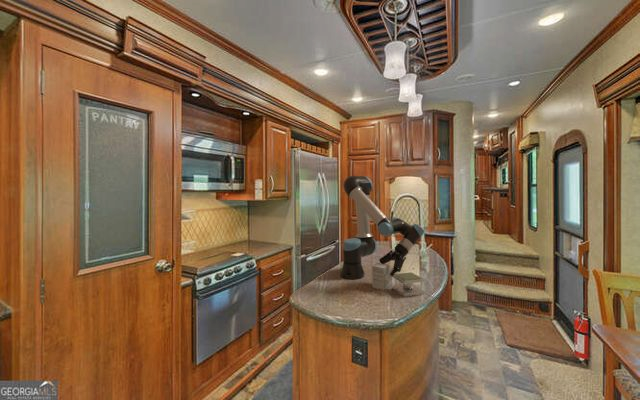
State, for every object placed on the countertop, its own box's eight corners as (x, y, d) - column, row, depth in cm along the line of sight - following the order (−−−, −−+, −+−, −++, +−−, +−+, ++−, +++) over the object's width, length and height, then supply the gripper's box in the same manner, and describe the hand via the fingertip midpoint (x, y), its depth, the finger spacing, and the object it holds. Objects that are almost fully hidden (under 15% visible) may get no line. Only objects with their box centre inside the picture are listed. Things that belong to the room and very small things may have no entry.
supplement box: (378, 283, 159) (377, 262, 158) (389, 286, 154) (389, 264, 153) (371, 287, 153) (371, 265, 152) (384, 290, 148) (383, 267, 148)
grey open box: (404, 296, 139) (404, 280, 139) (392, 288, 151) (392, 273, 150) (424, 294, 142) (424, 278, 142) (411, 286, 154) (411, 271, 153)
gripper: (421, 256, 144) (396, 287, 141) (396, 247, 169) (374, 273, 165) (412, 247, 143) (386, 278, 140) (388, 239, 167) (366, 265, 164)
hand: (380, 275), depth 153 cm, fingers open, 13 cm apart
